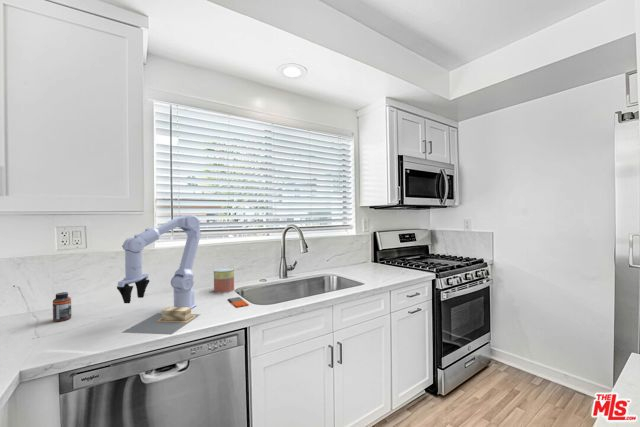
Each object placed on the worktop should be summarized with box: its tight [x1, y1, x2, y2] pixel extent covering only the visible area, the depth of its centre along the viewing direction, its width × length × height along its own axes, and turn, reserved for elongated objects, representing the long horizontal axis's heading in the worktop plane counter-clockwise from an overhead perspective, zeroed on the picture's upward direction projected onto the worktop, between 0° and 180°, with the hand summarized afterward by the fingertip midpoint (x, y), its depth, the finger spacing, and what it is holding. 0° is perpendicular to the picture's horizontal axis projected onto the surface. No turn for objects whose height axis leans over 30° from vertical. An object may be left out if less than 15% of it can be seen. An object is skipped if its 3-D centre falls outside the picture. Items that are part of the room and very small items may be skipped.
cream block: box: [161, 306, 192, 321], centre depth 125 cm, size 10×4×4 cm, turn 83°
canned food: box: [213, 267, 235, 294], centre depth 171 cm, size 11×11×12 cm
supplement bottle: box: [52, 291, 72, 323], centre depth 126 cm, size 6×6×11 cm
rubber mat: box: [121, 312, 201, 335], centre depth 120 cm, size 21×20×1 cm
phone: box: [227, 296, 250, 309], centre depth 148 cm, size 6×1×15 cm
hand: (134, 300), depth 121 cm, fingers open, 7 cm apart
